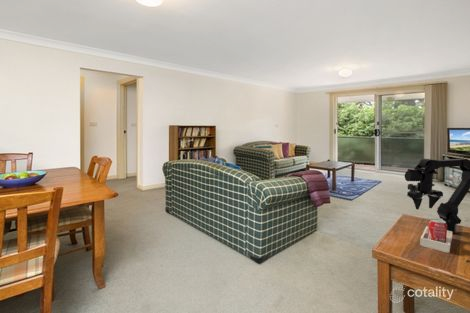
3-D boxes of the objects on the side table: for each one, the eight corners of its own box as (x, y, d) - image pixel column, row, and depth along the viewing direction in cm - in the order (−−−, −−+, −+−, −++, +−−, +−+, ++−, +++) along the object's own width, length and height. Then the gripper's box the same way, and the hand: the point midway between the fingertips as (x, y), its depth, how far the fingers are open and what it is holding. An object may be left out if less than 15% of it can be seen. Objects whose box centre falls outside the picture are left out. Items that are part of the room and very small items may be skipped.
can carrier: (425, 232, 141) (426, 226, 141) (451, 238, 134) (452, 231, 133) (419, 245, 126) (420, 237, 125) (449, 253, 118) (449, 244, 118)
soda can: (433, 240, 130) (435, 217, 129) (448, 246, 124) (451, 222, 122) (423, 242, 128) (425, 219, 127) (439, 248, 121) (441, 224, 120)
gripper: (425, 178, 150) (423, 203, 152) (399, 179, 146) (397, 205, 148) (445, 181, 140) (442, 209, 141) (417, 183, 135) (415, 211, 137)
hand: (423, 208), depth 142 cm, fingers open, 9 cm apart
